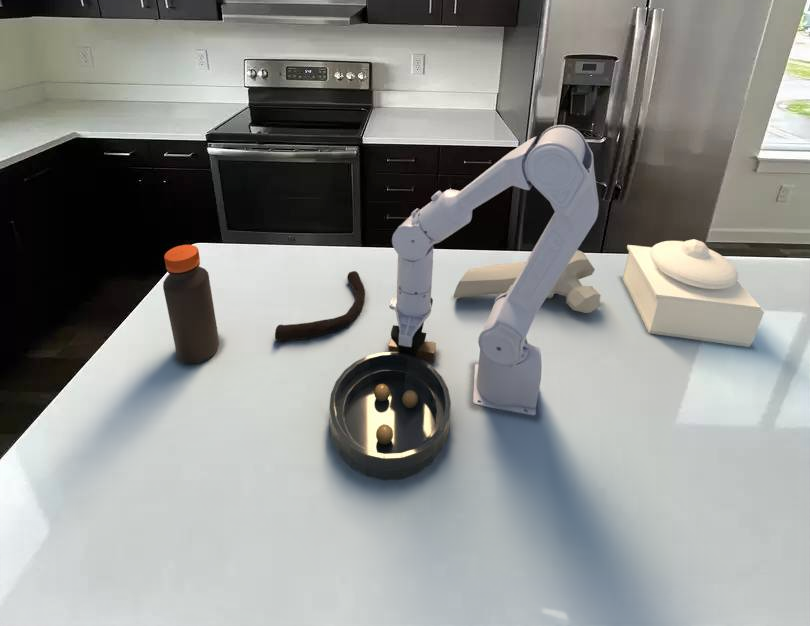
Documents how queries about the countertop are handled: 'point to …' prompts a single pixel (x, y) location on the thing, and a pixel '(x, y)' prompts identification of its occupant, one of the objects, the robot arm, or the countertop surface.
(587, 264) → the faceted mallet
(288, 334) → the branch
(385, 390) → the bead
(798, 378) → the countertop surface
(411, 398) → the bead
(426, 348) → the block
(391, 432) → the bead
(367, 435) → the bowl
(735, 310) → the butter dish
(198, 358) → the bottle
